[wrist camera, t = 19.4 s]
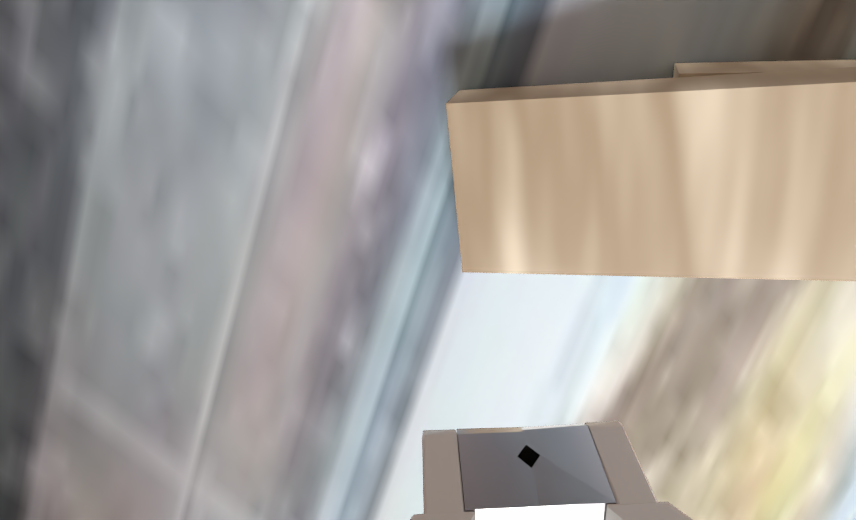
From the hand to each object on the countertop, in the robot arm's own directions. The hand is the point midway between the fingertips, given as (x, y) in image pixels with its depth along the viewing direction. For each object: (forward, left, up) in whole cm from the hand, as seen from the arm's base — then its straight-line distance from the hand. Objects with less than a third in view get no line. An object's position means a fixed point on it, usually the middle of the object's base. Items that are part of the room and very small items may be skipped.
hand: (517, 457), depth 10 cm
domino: (0, +1, -10) cm, 10 cm away
